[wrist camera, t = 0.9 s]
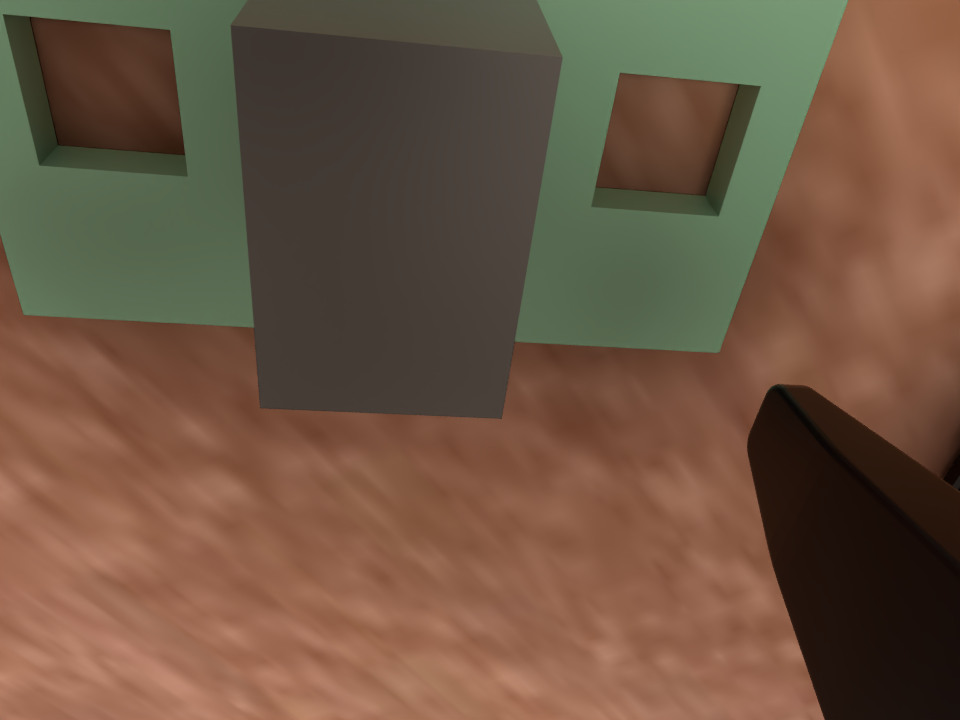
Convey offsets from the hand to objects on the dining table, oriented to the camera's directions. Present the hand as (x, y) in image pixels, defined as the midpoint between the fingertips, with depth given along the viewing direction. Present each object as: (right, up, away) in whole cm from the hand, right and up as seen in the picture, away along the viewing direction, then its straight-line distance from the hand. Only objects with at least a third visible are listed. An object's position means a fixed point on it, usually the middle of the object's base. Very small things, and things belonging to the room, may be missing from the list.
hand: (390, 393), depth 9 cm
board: (-1, +6, +7) cm, 9 cm away
